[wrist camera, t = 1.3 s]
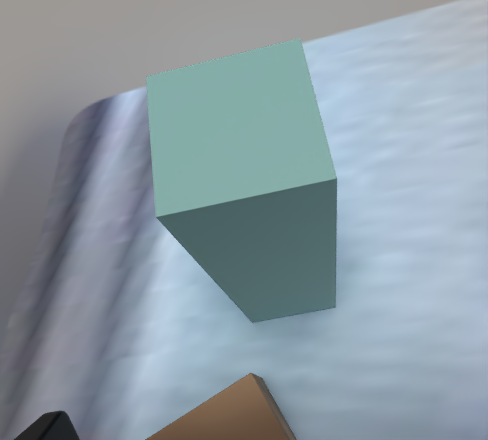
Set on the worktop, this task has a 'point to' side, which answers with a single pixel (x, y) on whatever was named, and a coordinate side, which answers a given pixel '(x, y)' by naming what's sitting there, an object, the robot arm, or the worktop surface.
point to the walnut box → (232, 416)
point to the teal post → (248, 177)
